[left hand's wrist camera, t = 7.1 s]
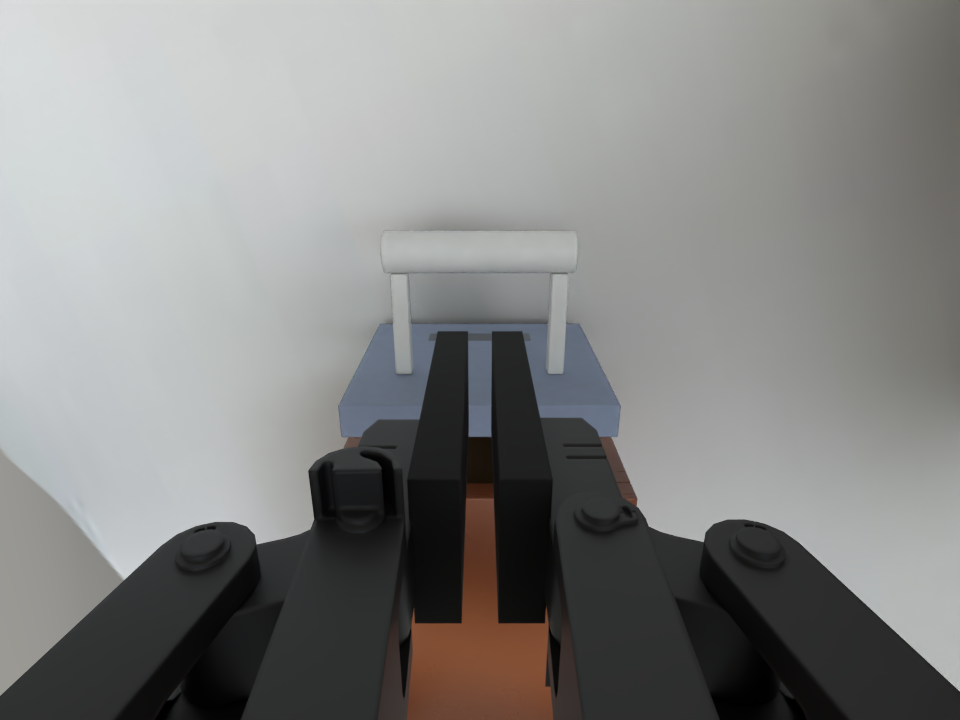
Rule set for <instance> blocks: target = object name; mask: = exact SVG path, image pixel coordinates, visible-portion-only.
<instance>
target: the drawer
mask: <svg viewBox="0 0 960 720" xmlns="http://www.w3.org/2000/svg"><path fill="white" fill-rule="evenodd" d="M577 260H578V238H577V233H576V231H574V230H549V231H383V233H382V237H381V261H382V267H383V270H384V272H385V273H391V275H390V282H391V298H392V315H393V324H380V325H379V327H378V329H377V331H376V333H375V335H374V337H373V339H372V341H371V343H370V345H369V347H368V349H367V351H366V353H365V355H364V357H363V359H362V361H361V363H360V365H359V367H358V369H357V370H356V372H355V374H354V376H353V378H352V380H351V382H350V384H349V386H348V388H347V390H346V392H345V394H344V396H343V398H342V400H341V402H340V404H339V406H338V407H339V417H340V427H341V436H342V437H362V435H363V432H364V431H365V430H366V429H367V428H369V427H370V426H371V425H372V424H374V423H375V422H376V421H377V420H378V419H420V414H421V410H422V405H423V400H424V395H425V390H426V385H427V380H428V376H429V371H430V366H431V361H432V356H433V351H434V346H435V342H436V337H437V332H438V331H468V381H469V439H468V466H467V483H493V466H492V439H491V379H492V331H522V332H523V337H524V342H525V346H526V351H527V356H528V361H529V366H530V371H531V376H532V380H533V385H534V390H535V395H536V400H537V405H538V410H539V414H540V418H583V419H584V420H585V421H586V422H588V423H589V424H590V425H591V426H592V427H594V428H595V429H596V430H597V432H598V435H599V437H617V436H618V428H619V418H620V408H621V406H620V403H619V401H618V399H617V398H616V396H615V394H614V392H613V390H612V388H611V386H610V384H609V382H608V380H607V378H606V376H605V374H604V372H603V370H602V368H601V366H600V364H599V362H598V360H597V358H596V356H595V354H594V352H593V350H592V348H591V346H590V344H589V342H588V340H587V338H586V336H585V334H584V332H583V330H582V328H581V326H580V324H566V317H567V299H568V281H569V275H568V273H574V272H575V270H576V267H577ZM409 273H550V285H549V308H548V324H411V307H410V285H409Z"/></svg>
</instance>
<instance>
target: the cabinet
mask: <svg viewBox="0 0 960 720" xmlns="http://www.w3.org/2000/svg"><path fill="white" fill-rule="evenodd" d="M360 440H361V437H348V439H347V442H346V444H345V446H344V448H351V447H358V445H359V442H360ZM600 440H601V443H602V447H603V448H604V451H605V453H606V456H607V459H608V461H609V464H610V466H611V469H612V471H613V474H614V477H615V479H616V482H617V484H618V487H619V490H620V492H621V495H622V498H624V499H626V500H628V501H629V502H630V503H632V504H633V505H635V506H637V497H636V495H635V492H634V490H633V488H632V485H631V484H630V481H629V478H628V476H627V474H626V471H625V469H624V467H623V464H622V462H621V459H620V457H619V455H618V452H617V450H616V448H615V445H614V443H613V440H612V438H611V437H600ZM411 628H412V646H413V654H412V666H411V677H410V688H409V700H408V711H407V720H553V710H552V699H551V687H545V680H546V663H547V645H548V628H549V622H548V615H547V608H546V616H545V623H498V603H497V575H496V548H495V521H494V494H493V483H467V493H466V520H465V548H464V575H463V602H462V623H415V617H414V611H413V618H412V625H411Z"/></svg>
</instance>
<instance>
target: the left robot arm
mask: <svg viewBox="0 0 960 720" xmlns="http://www.w3.org/2000/svg"><path fill="white" fill-rule="evenodd" d="M468 439H469V381H468V331H438V332H437V337H436V342H435V346H434V351H433V356H432V361H431V366H430V371H429V376H428V380H427V385H426V390H425V395H424V400H423V405H422V410H421V414H420V419H378V420H377V421H376V422H375V423H374V424H372V425H371V426H370V427H369V428H367V429H366V430H365V431H364V432H363V435H362V437H361V440H360V442H359V445H358V447H351V448H344V449H341V450H338V451H335V452H332V453H329V454H327V455H325V456H324V457H322V458H320V459H319V460H317V461H316V462H315V463H314V464H313V466H312V467H311V468H310V469H309V471H308V472H309V480H310V488H311V496H312V504H313V512H314V522H313V525H312V527H311V529H310V530H308V531H306V532H304V533H302V534H299V535H296V536H292V537H289V538H285V539H281V540H276V541H271V542H267V543H262V544H257V545H256V540H255V535H254V534H253V533H252V532H251V531H250V530H249V529H248V527H246V526H243V525H240V524H237V523H234V522H214V523H209V524H204V525H200V526H196V527H193V528H191V529H189V530H186V531H184V532H182V533H179V534H177V535H176V536H174V537H173V538H172V539H170V540H169V541H167V542H166V543H165V544H163V545H162V546H161V547H160V548H158V549H157V550H156V551H155V552H154V553H153V554H152V555H151V556H150V557H149V558H148V559H147V560H146V561H145V562H143V563H142V564H141V565H140V566H139V567H138V568H137V569H136V570H135V571H134V572H133V573H132V574H131V575H130V576H128V577H127V578H126V579H125V580H124V581H123V582H122V583H121V584H120V585H119V586H118V587H117V588H116V589H114V590H113V591H112V592H111V593H110V594H109V595H108V596H107V597H106V598H105V599H104V600H103V601H102V602H101V603H99V604H98V605H97V606H96V607H95V608H94V609H93V610H92V611H91V612H90V613H89V614H88V615H87V616H86V617H85V618H83V619H82V620H81V621H80V622H79V623H78V624H77V625H76V626H75V627H74V628H73V629H72V630H71V631H69V632H68V633H67V634H66V635H65V636H64V637H63V638H62V639H61V640H60V641H59V642H58V643H57V644H56V645H55V646H53V647H52V648H51V649H50V650H49V651H48V652H47V653H46V654H45V655H44V656H43V657H42V658H41V659H39V660H38V661H37V662H36V663H35V664H34V665H33V666H32V667H31V668H30V669H29V670H28V671H27V672H25V673H24V674H23V675H22V676H21V677H20V678H19V679H18V680H17V681H16V682H15V683H14V684H13V685H12V686H10V687H9V688H8V689H7V690H6V691H5V692H4V693H3V694H2V695H1V696H0V720H407V711H408V700H409V688H410V677H411V666H412V654H413V646H412V628H411V625H412V618H413V611H414V617H415V623H462V602H463V575H464V548H465V520H466V493H467V466H468ZM491 439H492V466H493V494H494V521H495V548H496V575H497V603H498V623H545V616H546V608H547V615H548V622H549V628H548V645H547V663H546V680H545V687H551V699H552V710H553V720H960V691H958V690H957V689H956V688H955V687H954V686H953V685H952V684H951V683H950V682H949V681H948V680H947V679H945V678H944V677H943V676H942V675H941V674H940V673H939V672H938V671H937V670H936V669H935V668H934V667H933V666H931V665H930V664H929V663H928V662H927V661H926V660H925V659H924V658H923V657H922V656H921V655H920V654H918V653H917V652H916V651H915V650H914V649H913V648H912V647H911V646H910V645H909V644H908V643H907V642H906V641H904V640H903V639H902V638H901V637H900V636H899V635H898V634H897V633H896V632H895V631H894V630H893V629H891V628H890V627H889V626H888V625H887V624H886V623H885V622H884V621H883V620H882V619H881V618H880V617H878V616H877V615H876V614H875V613H874V612H873V611H872V610H871V609H870V608H869V607H868V606H867V605H866V604H864V603H863V602H862V601H861V600H860V599H859V598H858V597H857V596H856V595H855V594H854V593H853V592H851V591H850V590H849V589H848V588H847V587H846V586H845V585H844V584H843V583H842V582H841V581H840V580H838V579H837V578H836V577H835V576H834V575H833V574H832V573H831V572H830V571H829V570H828V569H827V568H826V567H824V566H823V565H822V564H821V563H820V562H819V561H818V560H817V559H816V558H815V557H814V556H813V555H811V554H810V553H809V552H808V551H807V550H806V549H805V548H804V547H803V546H802V545H801V544H800V543H798V542H797V541H796V540H794V539H793V538H791V537H790V536H788V535H787V534H786V533H784V532H783V531H780V530H778V529H776V528H773V527H771V526H769V525H766V524H763V523H759V522H754V521H749V520H725V521H722V522H719V523H716V524H713V525H712V526H711V527H710V529H709V530H708V531H707V532H706V534H705V540H704V542H700V541H695V540H691V539H686V538H681V537H677V536H673V535H669V534H666V533H662V532H659V531H657V530H655V529H653V528H651V527H649V526H648V524H647V521H646V518H645V517H644V515H643V514H642V513H641V511H640V510H639V508H638V507H636V506H635V505H633V504H632V503H630V502H629V501H628V500H626V499H624V498H622V495H621V492H620V490H619V487H618V484H617V482H616V479H615V477H614V474H613V471H612V469H611V466H610V464H609V461H608V459H607V456H606V453H605V451H604V448H603V447H602V443H601V440H600V437H599V435H598V432H597V430H596V429H595V428H594V427H592V426H591V425H590V424H589V423H588V422H586V421H585V420H584V419H583V418H540V414H539V410H538V405H537V400H536V395H535V390H534V385H533V380H532V376H531V371H530V366H529V361H528V356H527V351H526V346H525V342H524V337H523V332H522V331H492V379H491Z"/></svg>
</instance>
